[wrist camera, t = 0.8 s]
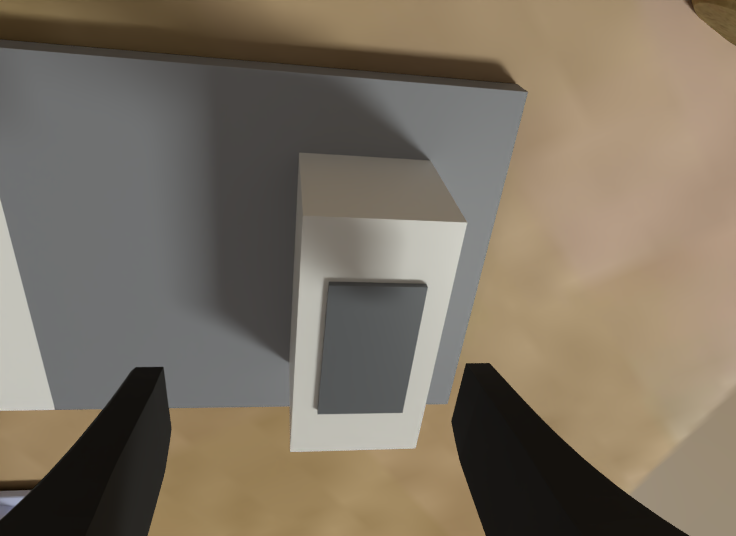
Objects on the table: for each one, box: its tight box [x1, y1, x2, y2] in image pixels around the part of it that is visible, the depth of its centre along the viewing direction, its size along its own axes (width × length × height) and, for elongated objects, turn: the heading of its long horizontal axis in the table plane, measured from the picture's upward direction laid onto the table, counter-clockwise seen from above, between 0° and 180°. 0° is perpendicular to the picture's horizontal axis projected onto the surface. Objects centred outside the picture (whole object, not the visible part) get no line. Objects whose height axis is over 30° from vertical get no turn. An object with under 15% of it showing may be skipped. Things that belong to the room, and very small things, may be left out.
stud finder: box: [289, 153, 467, 452], centre depth 19 cm, size 9×4×5 cm, turn 174°
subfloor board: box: [0, 40, 528, 411], centre depth 20 cm, size 14×26×1 cm, turn 84°
